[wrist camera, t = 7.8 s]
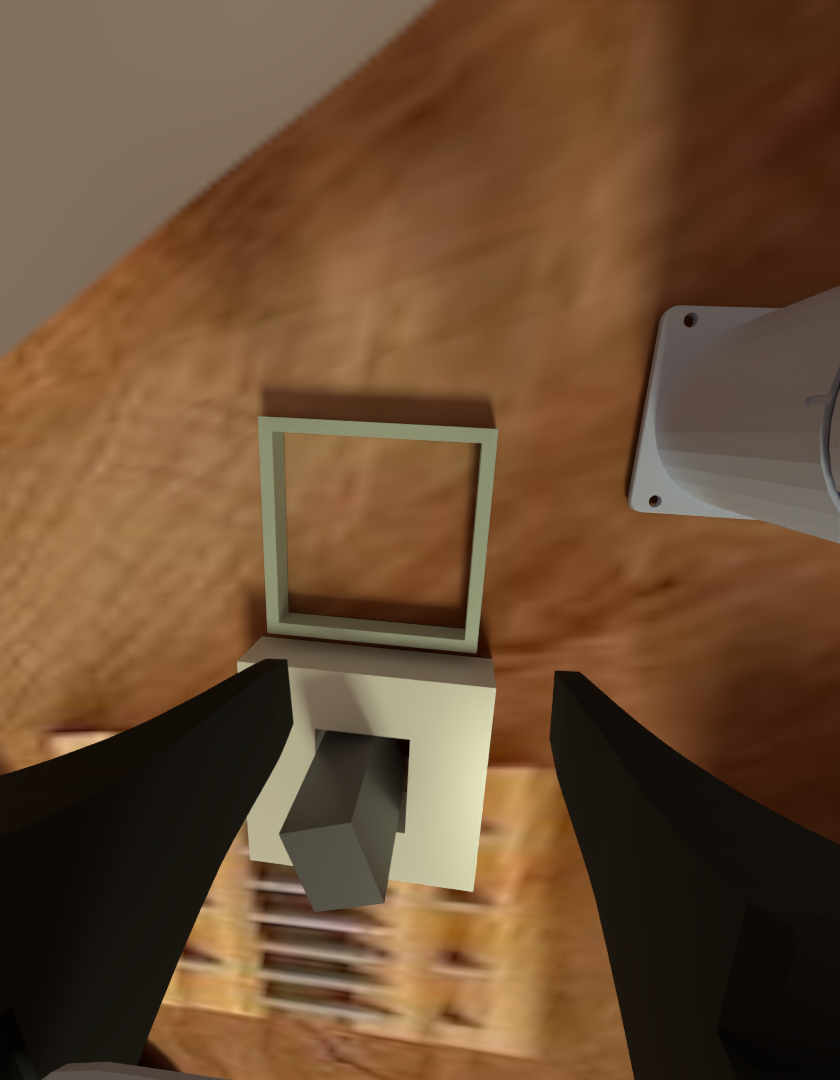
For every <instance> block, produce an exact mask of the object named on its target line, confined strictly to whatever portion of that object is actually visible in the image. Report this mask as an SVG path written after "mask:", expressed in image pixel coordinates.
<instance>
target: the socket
mask: <svg viewBox="0 0 840 1080" xmlns="http://www.w3.org/2000/svg"><path fill="white" fill-rule="evenodd" d="M266 658H267V659H287V661H288V671H289V681H290V691H291V701H292V711H293V721H294V724H293V727H292V729H291V732H290V734H289V737H288V739H287V742H286V744H285V747H284V749H283V752H282V754H281V756H280V759H279V760H278V762H277V764H276V766H275V768H274V770H273V771H272V773H271V775H270V777H269V779H268V780H267V782H266V784H265V786H264V787H263V789H262V791H261V793H260V795H259V796H258V798H257V800H256V802H255V803H254V805H253V807H252V809H251V810H250V812H249V814H248V816H247V821H248V836H249V851H250V860H256V861H263V862H270V863H277V864H284V865H291V866H293V864H292V862H291V860H290V858H289V855H288V853H287V851H286V849H285V847H284V845H283V843H282V840H281V838H280V836H279V832H280V830H281V828H282V826H283V824H284V822H285V819H286V817H287V815H288V813H289V811H290V808H291V806H292V804H293V802H294V800H295V798H296V795H297V793H298V791H299V789H300V787H301V784H302V782H303V780H304V778H305V776H306V773H307V771H308V769H309V767H310V765H311V763H312V760H313V758H314V756H315V754H316V752H317V749H318V747H319V745H320V743H321V741H322V739H323V736H324V734H325V732H326V730H331V731H339V732H348V733H357V734H365V735H374V736H382V737H391V738H400V739H408V740H410V751H409V769H408V787H407V792H404V791H403V794H402V800H401V806H400V812H399V818H398V824H397V830H396V836H395V842H394V848H393V854H392V860H391V866H390V872H389V878H388V880H395V881H402V882H409V883H416V884H423V885H430V886H436V887H443V888H450V889H457V890H464V891H471V892H473V889H474V880H475V871H476V862H477V854H478V845H479V836H480V827H481V818H482V809H483V800H484V792H485V783H486V774H487V765H488V756H489V747H490V738H491V730H492V721H493V712H494V703H495V694H496V683H495V676H494V668H493V660H492V659H488V658H477V657H467V656H457V655H447V654H437V653H426V652H416V651H406V650H396V649H386V648H376V647H365V646H355V645H345V644H335V643H325V642H315V641H304V640H294V639H284V638H274V637H264V636H262V637H261V638H260V639H259V640H258V641H257V642H256V643H255V644H254V645H253V646H252V647H251V648H250V649H249V650H248V651H247V652H246V653H245V654H244V655H243V656H242V657H241V658H240V659H239V660H238V661H237V668H238V673H239V672H240V671H242V670H244V669H246V668H248V667H250V666H251V665H253V664H255V663H257V662H259V661H262V660H264V659H266Z"/></svg>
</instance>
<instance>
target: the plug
mask: <svg viewBox="0 0 840 1080" xmlns="http://www.w3.org/2000/svg"><path fill="white" fill-rule="evenodd" d="M406 770H407V764H406V762H405V759H404V756H403V753H402V751H401V748H400V745H399V742H398V740H397V738H391V737H382V736H374V735H365V734H357V733H348V732H339V731H331V730H326V732H325V734H324V736H323V739H322V741H321V743H320V745H319V747H318V749H317V752H316V754H315V756H314V758H313V760H312V763H311V765H310V767H309V769H308V771H307V773H306V776H305V778H304V780H303V782H302V784H301V787H300V789H299V791H298V793H297V795H296V798H295V800H294V802H293V804H292V806H291V808H290V811H289V813H288V815H287V817H286V819H285V822H284V824H283V826H282V828H281V830H280V832H279V836H280V838H281V840H282V843H283V845H284V847H285V849H286V851H287V853H288V855H289V858H290V860H291V862H292V864H293V866H294V868H295V871H296V873H297V875H298V877H299V879H300V881H301V884H302V886H303V888H304V890H305V892H306V894H307V897H308V899H309V901H310V903H311V905H312V907H313V909H314V912H318V911H326V910H334V909H342V908H350V907H358V906H366V905H374V904H382V903H384V902H385V896H386V890H387V884H388V878H389V872H390V866H391V860H392V854H393V848H394V842H395V836H396V830H397V824H398V818H399V812H400V806H401V800H402V794H403V788H404V782H405V776H406Z"/></svg>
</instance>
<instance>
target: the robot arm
mask: <svg viewBox="0 0 840 1080" xmlns="http://www.w3.org/2000/svg"><path fill="white" fill-rule="evenodd" d="M686 315H689V316H691V317H692V319H693V324H692V326H691V327H690V328H689V327H686V326H685V324H684V318H685V316H686ZM654 495H656V496H657V499H658V501H657V503H656V504H655V505H653V506H650V505H649V499H650V498H651V497H652V496H654ZM628 504H629V506H630V507H631V508H632V509H633V510H635V511H639V512H650V513H665V514H679V515H694V516H709V517H724V518H738V519H753V520H762V521H765V522H768V523H772V524H775V525H778V526H782V527H785V528H789V529H792V530H795V531H799V532H802V533H805V534H809V535H812V536H816V537H819V538H822V539H826V540H829V541H832V542H836V543H839V544H840V286H837V287H835V288H832V289H830V290H827V291H825V292H822V293H819V294H817V295H814V296H812V297H809V298H806V299H804V300H801V301H799V302H796V303H794V304H791V305H788V306H786V307H783V308H753V307H719V306H684V305H679V306H674V307H672V308H670V309H669V310H667V311H665V313H664V314H663V315H662V316H661V319H660V322H659V328H658V333H657V339H656V344H655V350H654V356H653V361H652V367H651V372H650V378H649V383H648V389H647V394H646V400H645V405H644V411H643V417H642V422H641V428H640V433H639V439H638V444H637V450H636V455H635V461H634V466H633V472H632V477H631V483H630V489H629V494H628ZM293 724H294V721H293V711H292V701H291V691H290V681H289V671H288V661H287V659H267V658H266V659H264V660H262V661H259V662H257V663H255V664H253V665H251V666H250V667H248V668H246V669H244V670H242V671H240V672H239V673H237V674H235V675H233V676H232V677H230V678H228V679H226V680H224V681H223V682H221V683H219V684H217V685H216V686H214V687H212V688H210V689H208V690H207V691H205V692H203V693H201V694H199V695H198V696H196V697H194V698H192V699H190V700H188V701H186V702H184V703H182V704H180V705H178V706H176V707H174V708H173V709H171V710H169V711H167V712H165V713H163V714H161V715H159V716H157V717H155V718H153V719H151V720H149V721H146V722H144V723H142V724H140V725H138V726H136V727H133V728H131V729H129V730H126V731H124V732H122V733H119V734H117V735H115V736H112V737H110V738H107V739H105V740H103V741H100V742H97V743H95V744H92V745H89V746H86V747H84V748H81V749H78V750H76V751H73V752H70V753H68V754H65V755H62V756H59V757H57V758H54V759H51V760H48V761H45V762H42V763H39V764H36V765H33V766H30V767H27V768H24V769H21V770H17V771H14V772H11V773H7V774H4V775H1V776H0V1080H229V1079H222V1078H215V1077H209V1076H202V1075H195V1074H188V1073H181V1072H174V1071H168V1070H161V1069H154V1068H147V1067H140V1066H137V1064H138V1062H139V1059H140V1056H141V1054H142V1051H143V1048H144V1046H145V1043H146V1041H147V1038H148V1035H149V1033H150V1030H151V1028H152V1025H153V1023H154V1020H155V1018H156V1015H157V1013H158V1010H159V1008H160V1005H161V1003H162V1000H163V998H164V995H165V993H166V990H167V988H168V985H169V983H170V980H171V978H172V975H173V973H174V970H175V968H176V966H177V963H178V961H179V958H180V956H181V954H182V951H183V949H184V947H185V944H186V942H187V940H188V937H189V935H190V933H191V930H192V928H193V926H194V923H195V921H196V919H197V916H198V914H199V912H200V909H201V907H202V905H203V903H204V901H205V898H206V896H207V894H208V892H209V890H210V887H211V885H212V883H213V881H214V879H215V877H216V874H217V872H218V870H219V868H220V866H221V863H222V861H223V859H224V857H225V855H226V854H227V852H228V850H229V848H230V846H231V844H232V842H233V840H234V838H235V837H236V835H237V833H238V831H239V830H240V828H241V826H242V824H243V823H244V821H245V819H246V817H247V816H248V814H249V812H250V810H251V809H252V807H253V805H254V803H255V802H256V800H257V798H258V796H259V795H260V793H261V791H262V789H263V787H264V786H265V784H266V782H267V780H268V779H269V777H270V775H271V773H272V771H273V770H274V768H275V766H276V764H277V762H278V760H279V759H280V756H281V754H282V752H283V749H284V747H285V744H286V742H287V739H288V737H289V734H290V732H291V729H292V727H293ZM550 742H551V748H552V753H553V758H554V763H555V768H556V773H557V778H558V781H559V784H560V787H561V790H562V794H563V797H564V800H565V803H566V806H567V809H568V812H569V815H570V819H571V822H572V825H573V828H574V831H575V834H576V837H577V840H578V843H579V846H580V849H581V852H582V855H583V859H584V862H585V865H586V868H587V871H588V874H589V878H590V881H591V885H592V888H593V892H594V895H595V899H596V904H597V908H598V912H599V917H600V921H601V925H602V930H603V934H604V938H605V943H606V947H607V951H608V956H609V961H610V965H611V970H612V974H613V979H614V984H615V988H616V993H617V997H618V1002H619V1006H620V1011H621V1016H622V1021H623V1025H624V1030H625V1035H626V1040H627V1045H628V1050H629V1055H630V1060H631V1065H632V1070H633V1075H634V1079H635V1080H840V845H839V844H837V843H835V842H832V841H830V840H828V839H826V838H824V837H822V836H820V835H818V834H816V833H814V832H812V831H810V830H808V829H806V828H804V827H802V826H800V825H798V824H796V823H794V822H792V821H791V820H789V819H787V818H785V817H783V816H781V815H779V814H777V813H775V812H774V811H772V810H770V809H768V808H767V807H765V806H763V805H761V804H759V803H758V802H756V801H754V800H752V799H751V798H749V797H747V796H745V795H744V794H742V793H740V792H738V791H737V790H735V789H733V788H732V787H730V786H728V785H727V784H725V783H723V782H722V781H720V780H718V779H717V778H715V777H714V776H712V775H711V774H709V773H708V772H706V771H705V770H703V769H702V768H700V767H699V766H697V765H695V764H694V763H692V762H691V761H689V760H688V759H686V758H685V757H684V756H682V755H681V754H679V753H678V752H676V751H675V750H674V749H672V748H671V747H670V746H668V745H667V744H666V743H664V742H663V741H662V740H660V739H659V738H658V737H656V736H655V735H654V734H652V733H651V732H650V731H648V730H647V729H646V728H645V727H643V726H642V725H641V724H640V723H638V722H637V721H636V720H635V719H634V718H632V717H631V716H630V715H629V714H627V713H626V712H625V711H624V710H623V709H622V708H620V707H619V706H618V705H617V704H616V703H615V702H613V701H612V700H611V699H610V698H609V697H608V696H607V695H605V694H604V693H603V692H602V691H601V690H600V689H599V688H598V687H596V686H595V685H594V684H593V683H592V682H591V681H590V680H589V679H587V678H586V677H585V676H584V675H583V674H581V673H580V672H573V671H555V676H554V689H553V702H552V715H551V728H550Z"/></svg>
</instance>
